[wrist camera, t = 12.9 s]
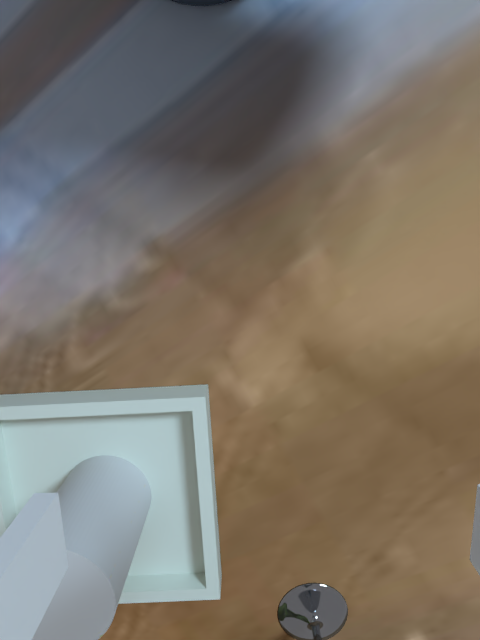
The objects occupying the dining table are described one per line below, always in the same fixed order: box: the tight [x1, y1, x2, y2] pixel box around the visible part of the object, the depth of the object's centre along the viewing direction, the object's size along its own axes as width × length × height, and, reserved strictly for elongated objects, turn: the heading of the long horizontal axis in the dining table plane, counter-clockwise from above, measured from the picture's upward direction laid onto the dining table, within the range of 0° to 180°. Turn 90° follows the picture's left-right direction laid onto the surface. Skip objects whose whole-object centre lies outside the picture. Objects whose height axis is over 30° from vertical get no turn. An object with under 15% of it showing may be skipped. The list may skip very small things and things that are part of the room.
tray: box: [0, 385, 222, 604], centre depth 41 cm, size 20×20×3 cm
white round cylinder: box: [32, 455, 151, 640], centre depth 35 cm, size 8×8×12 cm
